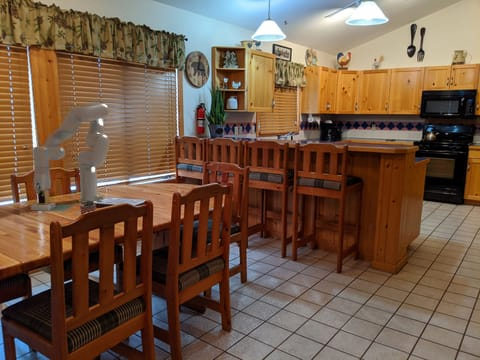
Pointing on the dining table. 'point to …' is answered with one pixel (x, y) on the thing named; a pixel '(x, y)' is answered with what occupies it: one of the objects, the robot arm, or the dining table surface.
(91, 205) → the lighter
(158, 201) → the dining table surface
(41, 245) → the dining table surface
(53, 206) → the board
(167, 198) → the dining table surface
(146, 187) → the dining table surface
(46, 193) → the plug
